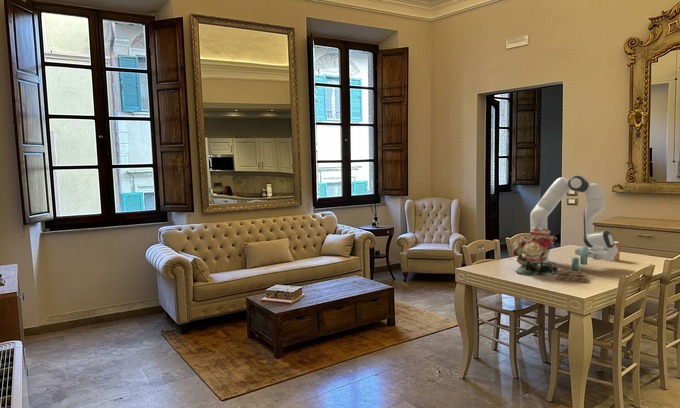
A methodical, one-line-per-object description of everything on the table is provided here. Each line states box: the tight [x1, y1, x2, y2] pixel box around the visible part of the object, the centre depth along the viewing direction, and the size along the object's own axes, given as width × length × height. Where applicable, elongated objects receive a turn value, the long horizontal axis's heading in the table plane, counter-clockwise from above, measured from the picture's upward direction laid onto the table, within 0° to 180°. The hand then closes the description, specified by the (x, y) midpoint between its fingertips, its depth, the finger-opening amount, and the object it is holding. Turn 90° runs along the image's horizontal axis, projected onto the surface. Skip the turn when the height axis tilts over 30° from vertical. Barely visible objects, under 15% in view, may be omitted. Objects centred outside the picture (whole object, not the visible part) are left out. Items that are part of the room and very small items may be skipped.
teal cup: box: [558, 257, 582, 274], centre depth 298 cm, size 12×7×10 cm, turn 61°
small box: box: [607, 240, 621, 262], centre depth 336 cm, size 8×6×13 cm
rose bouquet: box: [510, 226, 559, 277], centre depth 305 cm, size 26×29×30 cm
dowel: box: [579, 246, 589, 266], centre depth 302 cm, size 4×4×11 cm
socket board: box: [556, 271, 588, 284], centre depth 286 cm, size 16×10×2 cm, turn 61°
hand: (583, 254), depth 302 cm, fingers closed on dowel, 4 cm apart
